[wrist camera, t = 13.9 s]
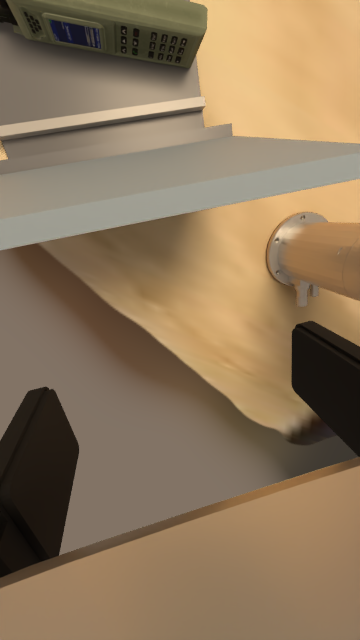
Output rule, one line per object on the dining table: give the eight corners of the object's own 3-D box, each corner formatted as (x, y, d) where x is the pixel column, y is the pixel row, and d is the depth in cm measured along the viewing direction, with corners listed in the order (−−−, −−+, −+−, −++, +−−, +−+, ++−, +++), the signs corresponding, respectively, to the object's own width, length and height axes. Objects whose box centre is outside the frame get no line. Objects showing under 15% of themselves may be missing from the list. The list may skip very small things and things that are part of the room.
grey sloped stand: (205, 156, 38) (232, 136, 28) (22, 188, 35) (-16, 177, 25) (182, -39, 30) (208, -156, 21) (-57, -20, 27) (-153, -146, 18)
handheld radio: (190, 75, 33) (-32, 36, 28) (192, 42, 32) (-39, -5, 27) (206, 39, 27) (-75, -19, 22) (208, -3, 26) (-86, -74, 21)
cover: (233, 135, 28) (233, 148, 29) (-17, 177, 25) (-10, 190, 26) (394, 146, 13) (385, 173, 13) (-205, 257, 10) (-174, 284, 10)
